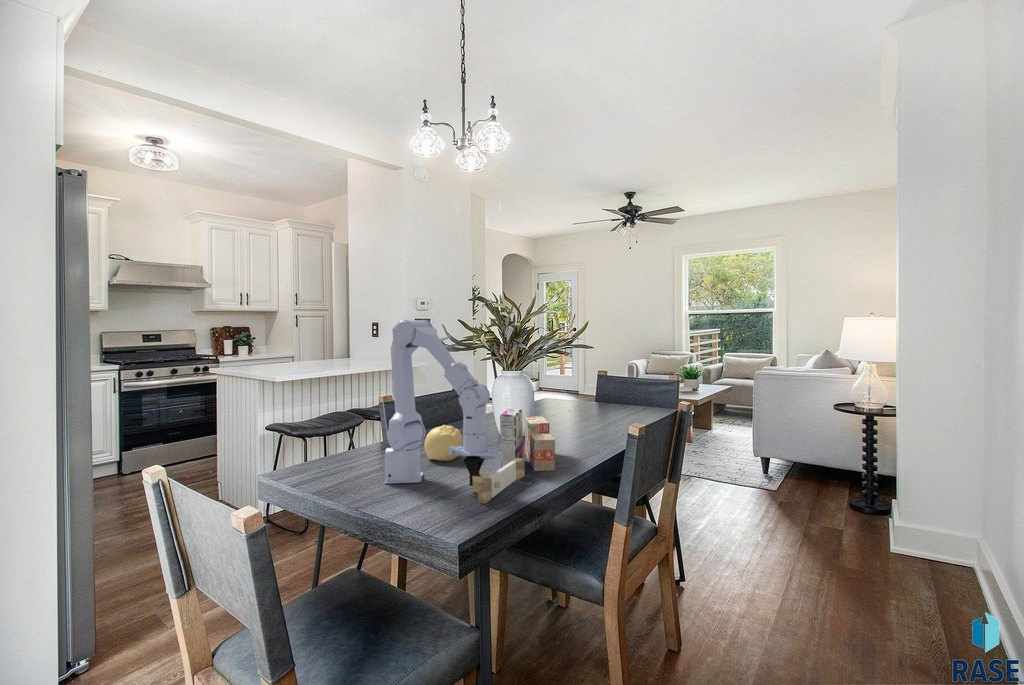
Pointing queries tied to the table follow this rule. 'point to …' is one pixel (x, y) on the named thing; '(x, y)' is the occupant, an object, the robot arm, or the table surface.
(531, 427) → the stack of blocks
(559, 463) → the table surface
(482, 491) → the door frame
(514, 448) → the candy bar box
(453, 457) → the yellow round lump
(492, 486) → the door
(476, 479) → the tan wooden block
